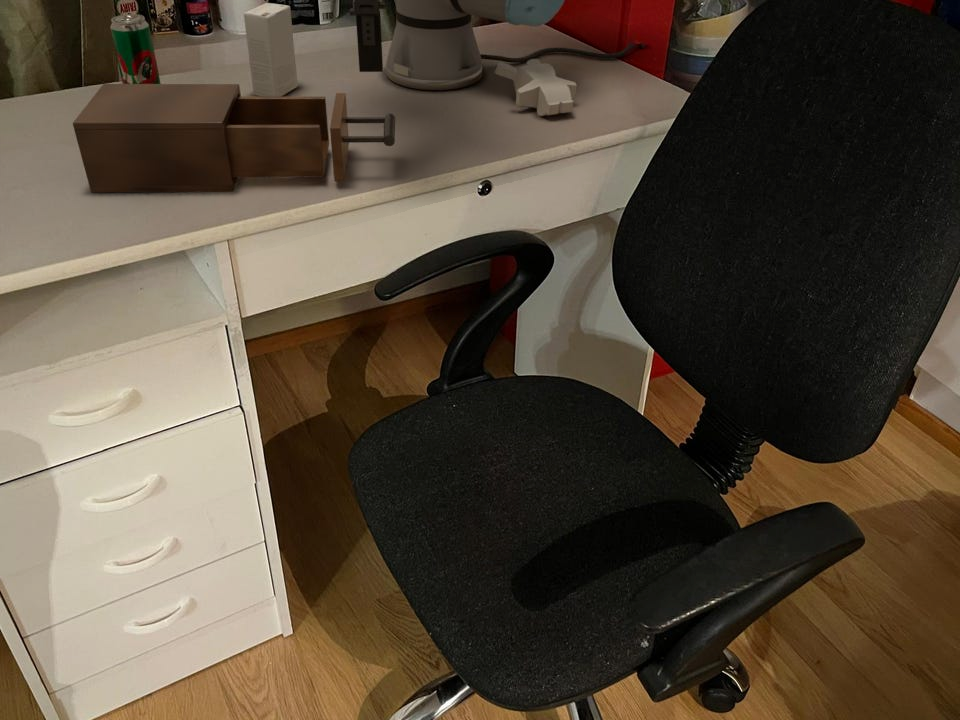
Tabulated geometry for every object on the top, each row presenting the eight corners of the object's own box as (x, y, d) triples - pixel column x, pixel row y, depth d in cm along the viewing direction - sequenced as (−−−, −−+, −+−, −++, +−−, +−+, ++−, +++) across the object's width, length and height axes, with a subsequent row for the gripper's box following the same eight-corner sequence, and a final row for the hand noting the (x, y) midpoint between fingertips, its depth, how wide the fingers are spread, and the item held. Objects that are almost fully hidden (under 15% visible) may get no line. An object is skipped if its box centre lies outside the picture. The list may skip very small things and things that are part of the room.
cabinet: (248, 148, 113) (239, 83, 108) (233, 191, 103) (222, 122, 98) (119, 149, 112) (103, 83, 107) (91, 192, 102) (72, 122, 97)
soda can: (169, 99, 126) (153, 14, 119) (156, 112, 122) (138, 24, 115) (136, 97, 127) (117, 12, 119) (121, 109, 123) (101, 22, 115)
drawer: (396, 143, 114) (394, 92, 110) (395, 181, 105) (393, 127, 100) (229, 144, 112) (221, 92, 108) (213, 182, 103) (204, 128, 99)
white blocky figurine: (533, 96, 120) (489, 51, 129) (529, 130, 123) (486, 83, 133) (592, 88, 123) (545, 45, 133) (586, 121, 126) (541, 76, 136)
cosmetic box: (274, 83, 133) (265, 1, 125) (300, 88, 131) (291, 5, 124) (252, 96, 128) (240, 11, 121) (277, 101, 127) (267, 15, 120)
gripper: (325, -171, 93) (342, 51, 107) (315, -153, 82) (335, 89, 97) (395, -169, 93) (403, 51, 107) (394, -152, 83) (402, 89, 97)
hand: (371, 69), depth 102 cm, fingers closed
